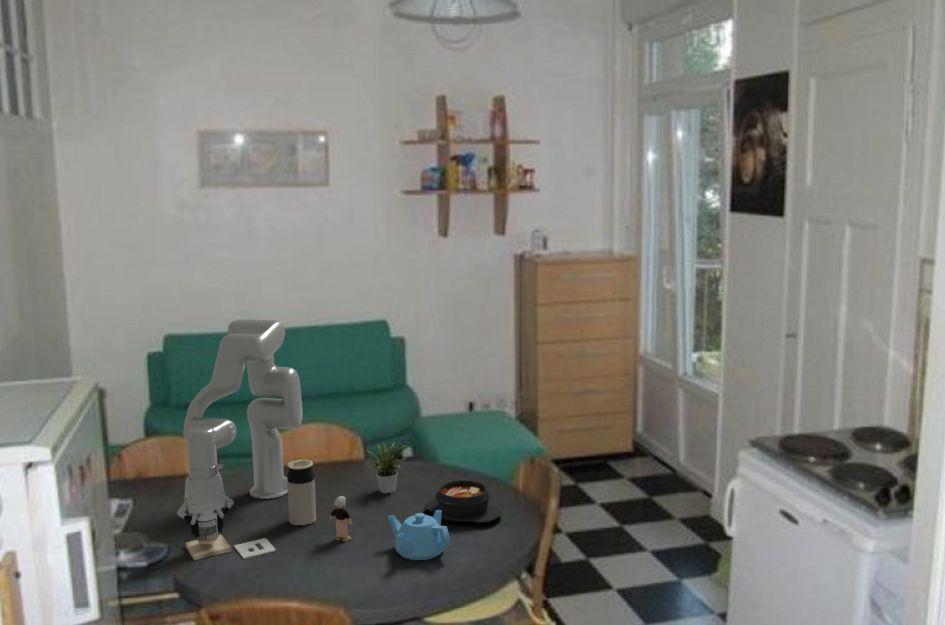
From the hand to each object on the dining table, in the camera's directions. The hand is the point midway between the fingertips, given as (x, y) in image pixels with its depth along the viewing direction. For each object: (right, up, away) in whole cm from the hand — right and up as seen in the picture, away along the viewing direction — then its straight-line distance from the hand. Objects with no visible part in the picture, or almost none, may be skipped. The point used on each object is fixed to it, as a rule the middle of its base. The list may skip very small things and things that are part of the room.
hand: (207, 532), depth 232 cm
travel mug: (+23, -2, +19) cm, 30 cm away
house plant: (+47, +2, +42) cm, 63 cm away
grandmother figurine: (+36, -4, +6) cm, 37 cm away
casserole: (+71, -1, +23) cm, 74 cm away
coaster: (0, -5, +1) cm, 5 cm away
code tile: (+13, -5, 0) cm, 14 cm away
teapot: (+59, -5, -2) cm, 59 cm away
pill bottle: (0, -2, 0) cm, 2 cm away
